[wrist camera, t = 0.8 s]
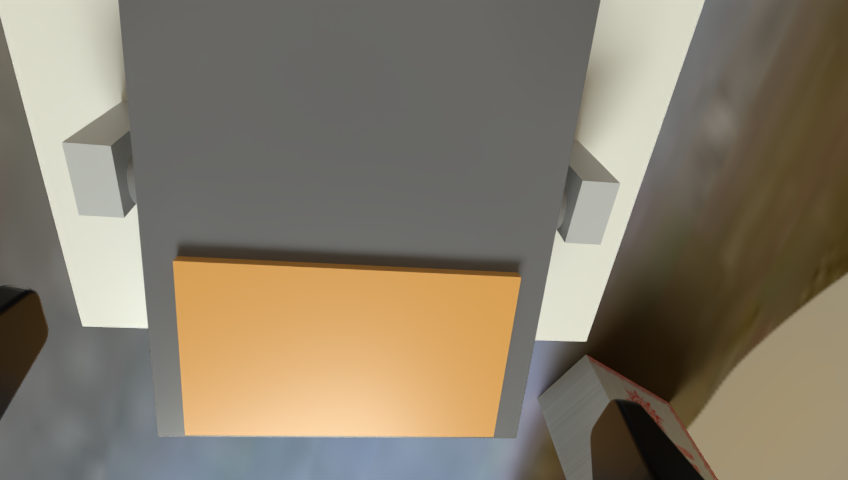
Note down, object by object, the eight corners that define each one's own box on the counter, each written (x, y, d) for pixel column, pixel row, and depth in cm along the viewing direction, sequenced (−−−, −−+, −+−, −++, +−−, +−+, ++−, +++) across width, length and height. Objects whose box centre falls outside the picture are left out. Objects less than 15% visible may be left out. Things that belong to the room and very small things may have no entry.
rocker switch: (508, 403, 17) (525, 445, 15) (170, 399, 16) (145, 444, 14) (599, -94, 12) (639, -117, 11) (126, -164, 11) (80, -203, 9)
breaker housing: (551, 275, 24) (620, 406, 17) (133, 255, 22) (29, 398, 15) (651, -80, 17) (828, -87, 11) (54, -167, 15) (-202, -246, 8)
